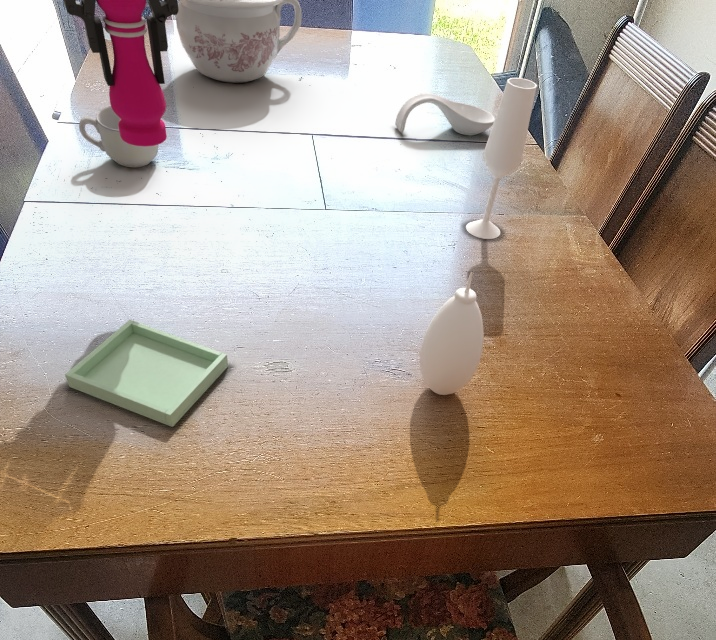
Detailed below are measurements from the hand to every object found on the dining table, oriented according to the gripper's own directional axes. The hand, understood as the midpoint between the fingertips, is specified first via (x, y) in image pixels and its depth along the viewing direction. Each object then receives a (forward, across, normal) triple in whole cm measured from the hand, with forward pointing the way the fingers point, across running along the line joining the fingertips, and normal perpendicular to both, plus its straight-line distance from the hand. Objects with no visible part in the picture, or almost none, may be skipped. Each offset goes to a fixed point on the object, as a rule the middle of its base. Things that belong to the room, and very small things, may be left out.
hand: (134, 80), depth 80 cm
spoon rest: (+25, +74, +39) cm, 87 cm away
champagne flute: (+25, +59, -5) cm, 64 cm away
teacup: (+25, 0, +36) cm, 44 cm away
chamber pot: (+25, +35, +80) cm, 91 cm away
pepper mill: (+7, 0, 0) cm, 7 cm away
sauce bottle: (+25, +29, -43) cm, 58 cm away
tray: (+25, -8, -29) cm, 39 cm away
